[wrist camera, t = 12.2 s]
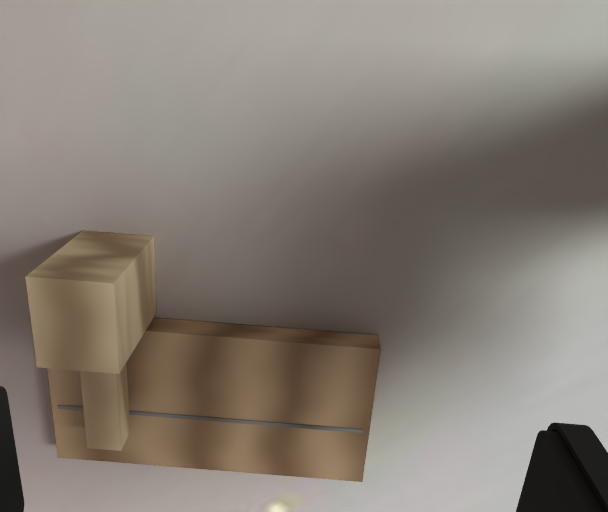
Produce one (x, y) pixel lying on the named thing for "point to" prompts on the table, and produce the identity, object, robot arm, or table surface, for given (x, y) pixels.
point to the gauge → (95, 321)
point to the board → (236, 400)
